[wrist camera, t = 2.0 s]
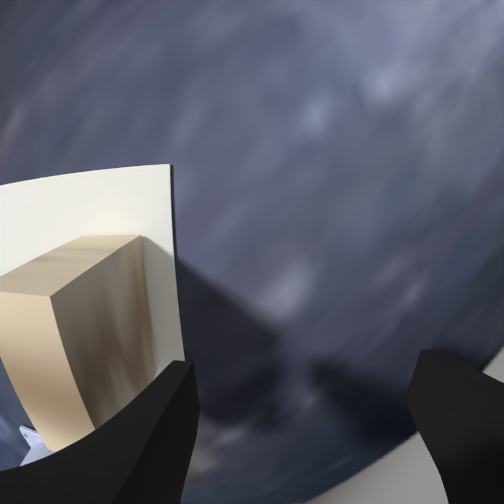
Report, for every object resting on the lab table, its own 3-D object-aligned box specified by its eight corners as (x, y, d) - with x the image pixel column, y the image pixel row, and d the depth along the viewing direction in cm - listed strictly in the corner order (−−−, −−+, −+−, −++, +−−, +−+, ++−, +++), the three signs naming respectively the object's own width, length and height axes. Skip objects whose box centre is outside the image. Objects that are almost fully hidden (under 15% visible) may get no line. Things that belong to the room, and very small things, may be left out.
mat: (191, 405, 16) (191, 406, 16) (22, 374, 16) (22, 375, 16) (170, 164, 12) (169, 164, 12) (-21, 190, 13) (-22, 190, 12)
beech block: (159, 364, 15) (115, 469, 8) (107, 358, 15) (48, 449, 8) (142, 233, 13) (49, 296, 6) (83, 234, 13) (-22, 288, 6)
